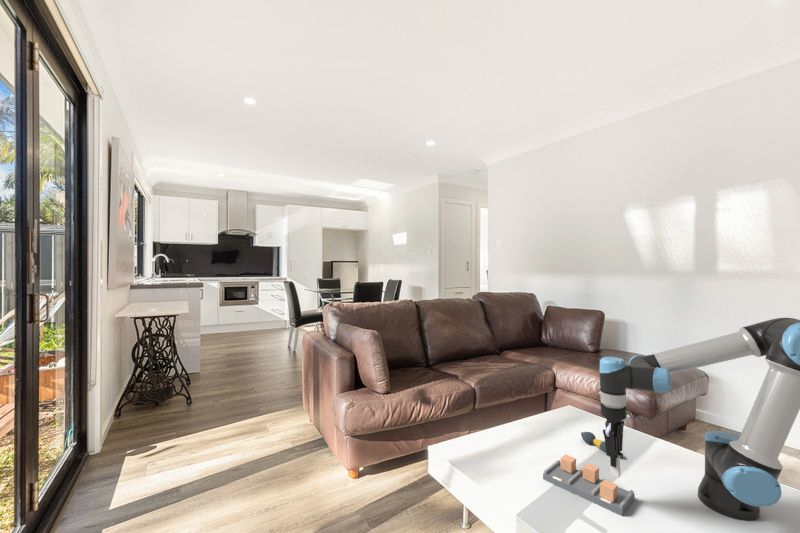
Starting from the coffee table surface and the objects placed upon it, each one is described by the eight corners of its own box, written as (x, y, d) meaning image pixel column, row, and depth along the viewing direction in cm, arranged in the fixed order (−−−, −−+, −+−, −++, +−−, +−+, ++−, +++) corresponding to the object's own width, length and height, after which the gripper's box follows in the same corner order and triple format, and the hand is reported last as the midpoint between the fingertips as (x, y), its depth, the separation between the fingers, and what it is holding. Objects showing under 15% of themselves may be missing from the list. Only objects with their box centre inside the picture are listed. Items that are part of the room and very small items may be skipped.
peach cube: (598, 478, 131) (599, 467, 131) (594, 483, 128) (594, 471, 128) (587, 473, 134) (587, 463, 134) (582, 478, 131) (582, 467, 131)
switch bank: (634, 499, 123) (634, 490, 123) (622, 516, 115) (622, 506, 115) (558, 467, 142) (558, 459, 142) (543, 479, 134) (543, 471, 134)
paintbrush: (628, 457, 149) (628, 445, 149) (621, 461, 147) (621, 448, 147) (582, 437, 166) (582, 427, 166) (575, 440, 164) (575, 429, 164)
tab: (617, 496, 121) (617, 484, 120) (613, 502, 118) (613, 489, 118) (604, 491, 124) (604, 479, 123) (599, 496, 121) (599, 484, 121)
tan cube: (576, 469, 137) (576, 458, 137) (571, 473, 134) (571, 462, 134) (565, 464, 140) (565, 454, 140) (560, 468, 137) (560, 458, 137)
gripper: (608, 396, 130) (610, 463, 130) (593, 406, 121) (595, 478, 121) (632, 402, 124) (634, 471, 124) (618, 413, 115) (620, 488, 115)
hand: (615, 474), depth 123 cm, fingers closed
